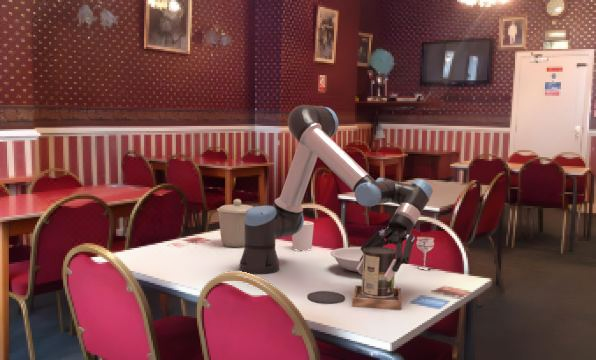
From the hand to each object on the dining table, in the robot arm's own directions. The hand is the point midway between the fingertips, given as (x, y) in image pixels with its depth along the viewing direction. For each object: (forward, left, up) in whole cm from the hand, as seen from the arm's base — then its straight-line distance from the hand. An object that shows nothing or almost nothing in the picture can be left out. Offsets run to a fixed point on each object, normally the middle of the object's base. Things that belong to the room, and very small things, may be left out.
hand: (372, 275), depth 178 cm
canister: (-63, +72, -9) cm, 97 cm away
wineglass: (+19, +50, -9) cm, 55 cm away
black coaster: (-14, +1, -9) cm, 17 cm away
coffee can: (+2, +3, -7) cm, 7 cm away
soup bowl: (-5, +40, -9) cm, 42 cm away
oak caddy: (+2, +2, -9) cm, 9 cm away
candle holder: (-33, +72, -9) cm, 80 cm away
